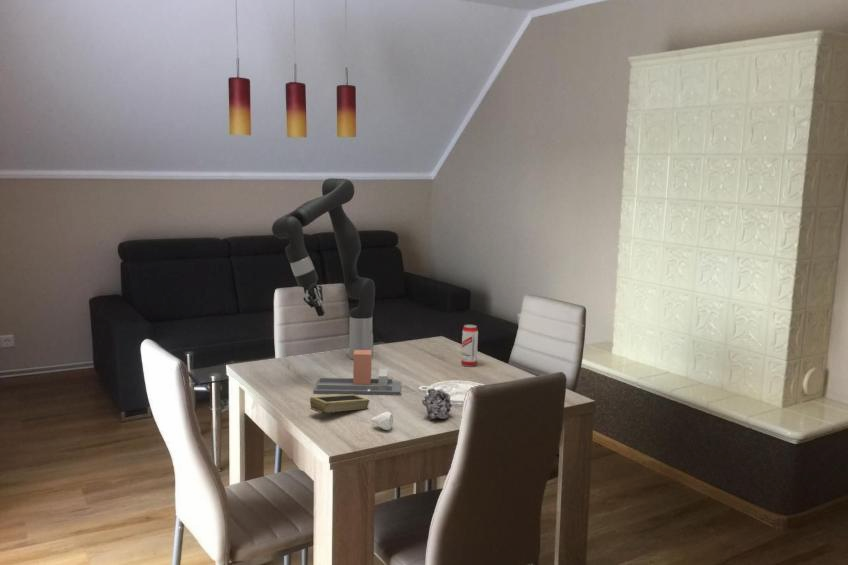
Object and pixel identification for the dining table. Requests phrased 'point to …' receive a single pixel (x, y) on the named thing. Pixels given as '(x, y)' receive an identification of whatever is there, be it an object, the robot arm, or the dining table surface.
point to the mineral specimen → (437, 404)
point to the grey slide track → (359, 386)
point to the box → (338, 403)
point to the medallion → (452, 390)
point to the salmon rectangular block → (362, 367)
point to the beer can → (469, 345)
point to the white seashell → (384, 420)
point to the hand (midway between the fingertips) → (321, 315)
